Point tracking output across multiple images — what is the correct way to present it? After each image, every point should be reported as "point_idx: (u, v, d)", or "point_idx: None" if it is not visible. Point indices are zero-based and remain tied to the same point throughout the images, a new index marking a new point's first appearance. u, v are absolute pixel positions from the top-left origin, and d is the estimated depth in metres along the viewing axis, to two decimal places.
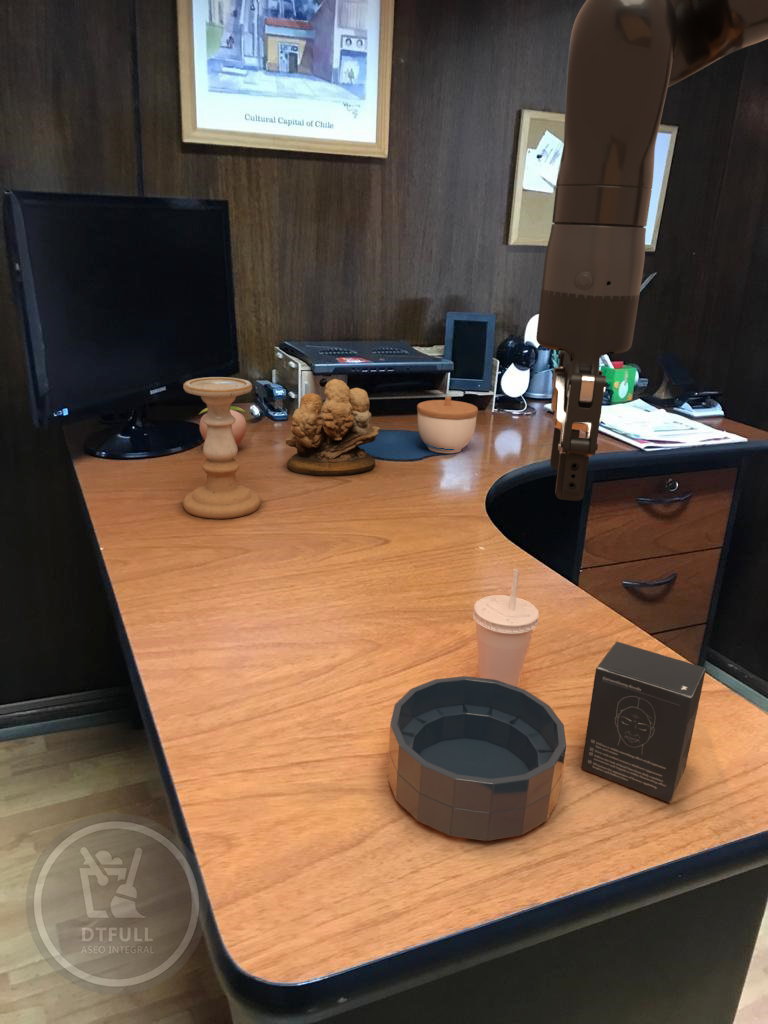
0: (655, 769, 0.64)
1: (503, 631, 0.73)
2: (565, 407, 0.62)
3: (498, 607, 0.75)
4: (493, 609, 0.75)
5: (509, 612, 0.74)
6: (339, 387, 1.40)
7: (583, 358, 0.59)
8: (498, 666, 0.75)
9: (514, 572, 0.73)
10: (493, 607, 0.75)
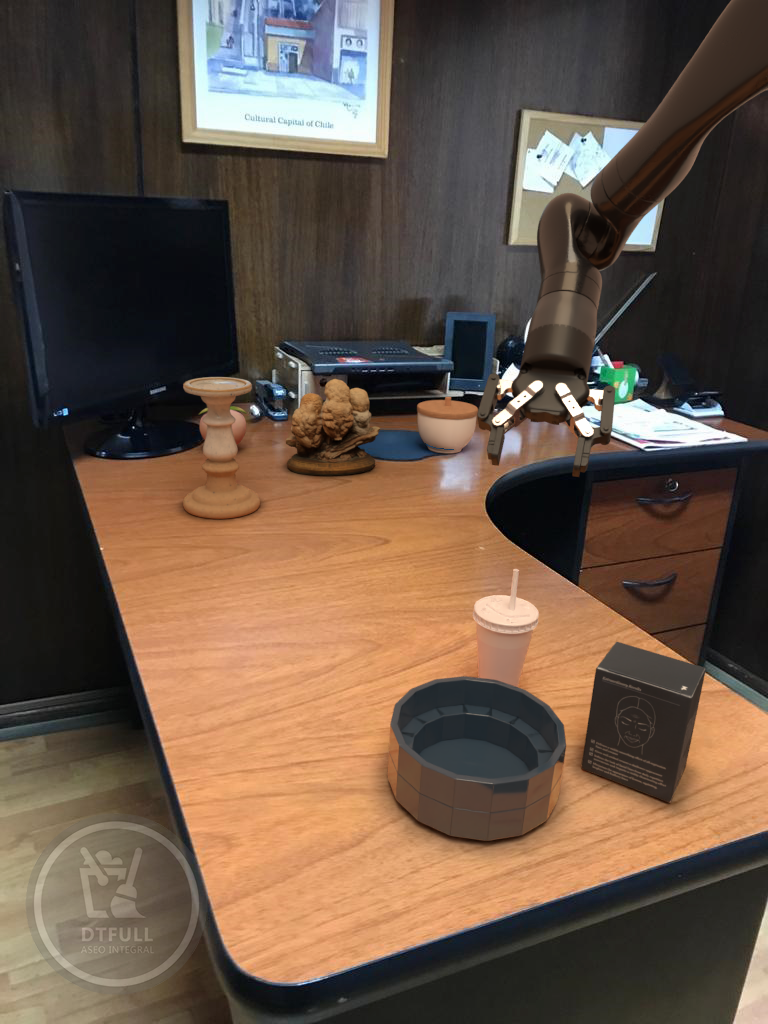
0: (655, 769, 0.64)
1: (503, 631, 0.73)
2: None
3: (498, 607, 0.75)
4: (493, 609, 0.75)
5: (509, 612, 0.74)
6: (339, 387, 1.40)
7: None
8: (498, 666, 0.75)
9: (514, 572, 0.73)
10: (493, 607, 0.75)
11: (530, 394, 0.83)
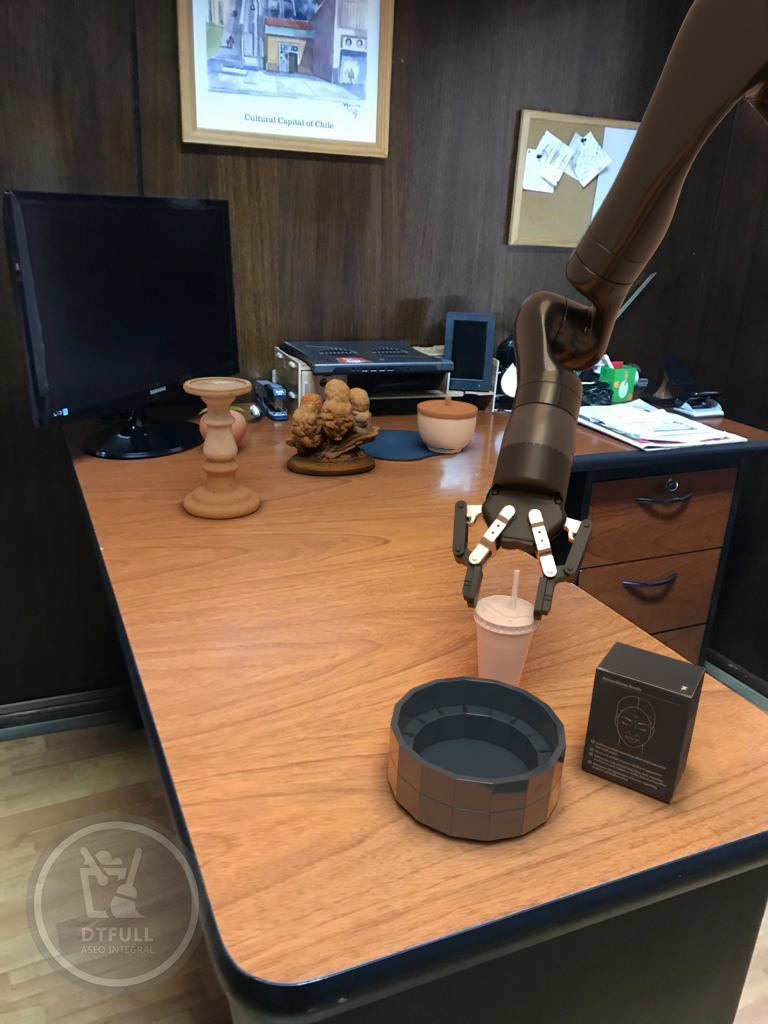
0: (655, 769, 0.64)
1: (503, 632, 0.73)
2: None
3: (499, 607, 0.75)
4: (494, 610, 0.75)
5: (510, 613, 0.74)
6: (339, 387, 1.40)
7: None
8: (498, 666, 0.75)
9: (515, 573, 0.73)
10: (494, 607, 0.75)
11: (503, 522, 0.75)
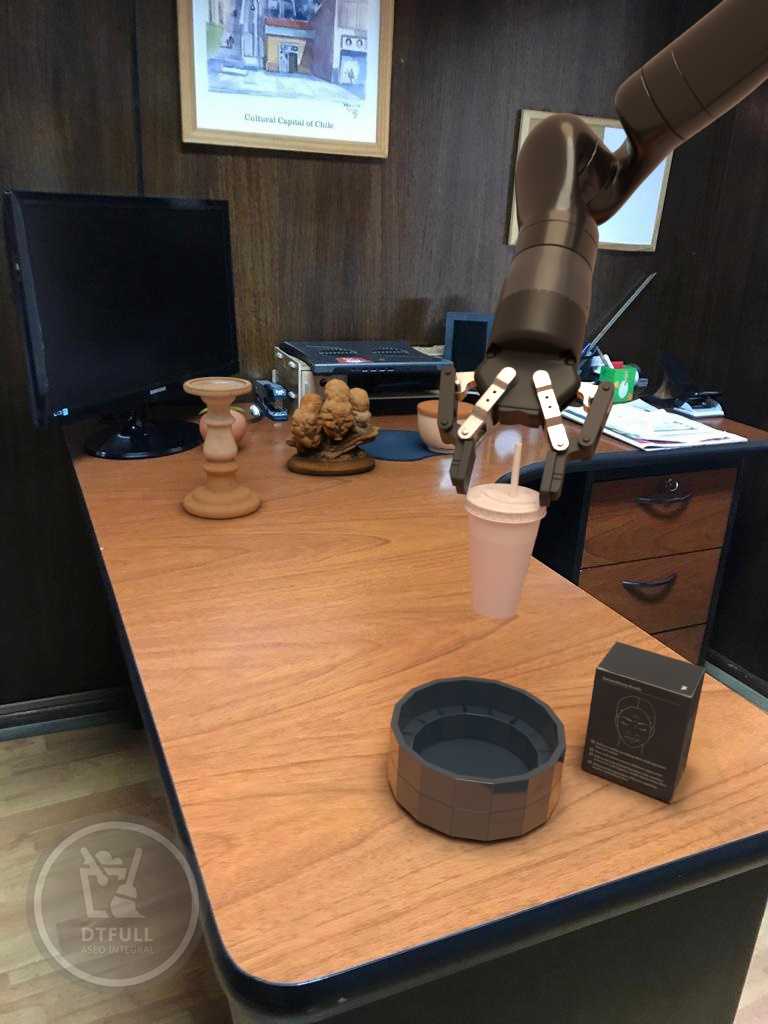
0: (655, 769, 0.64)
1: (501, 521, 0.57)
2: None
3: (496, 494, 0.60)
4: (490, 497, 0.59)
5: (509, 499, 0.59)
6: (339, 387, 1.40)
7: None
8: (495, 567, 0.59)
9: (516, 446, 0.58)
10: (489, 494, 0.60)
11: (501, 387, 0.60)
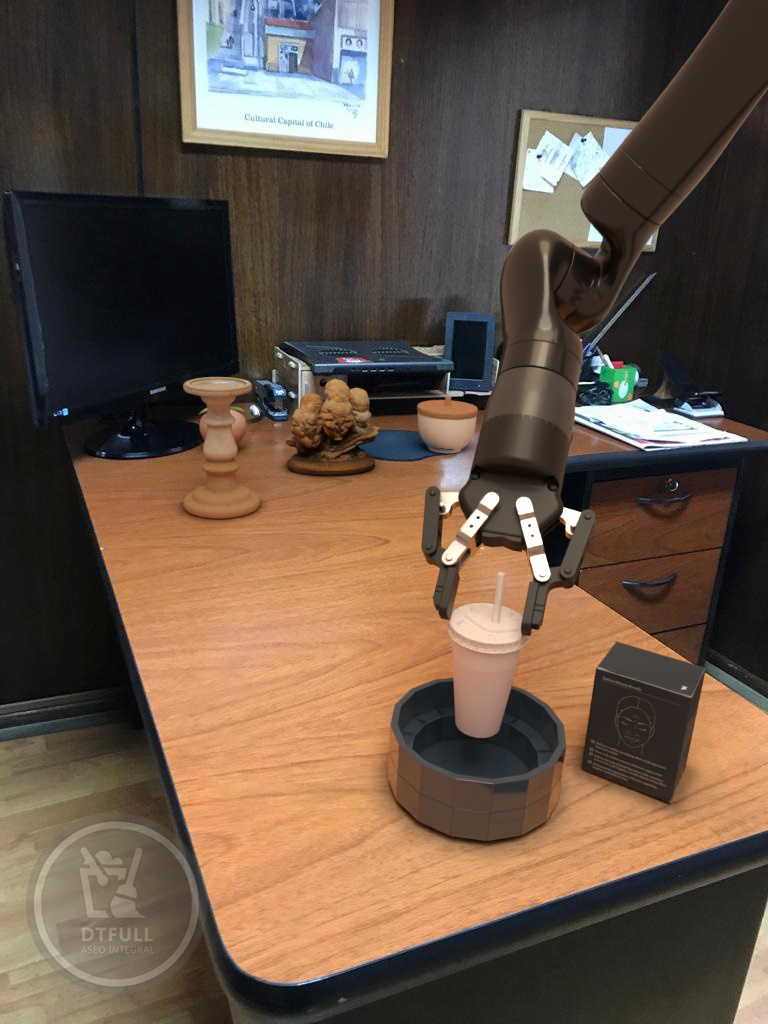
0: (655, 769, 0.64)
1: (484, 651, 0.58)
2: None
3: (479, 619, 0.60)
4: (473, 622, 0.60)
5: (492, 626, 0.59)
6: (339, 387, 1.40)
7: None
8: (478, 692, 0.60)
9: (498, 576, 0.58)
10: (472, 619, 0.60)
11: (485, 513, 0.61)
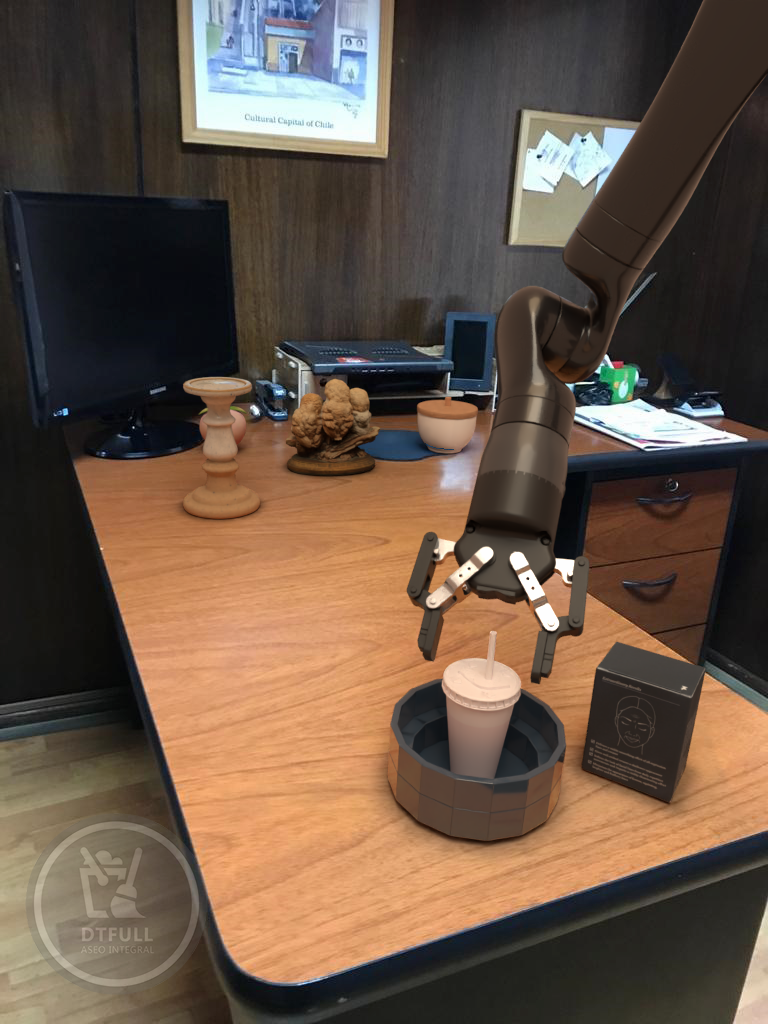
0: (655, 769, 0.64)
1: (477, 708, 0.60)
2: None
3: (472, 675, 0.62)
4: (467, 678, 0.62)
5: (485, 682, 0.62)
6: (339, 387, 1.40)
7: None
8: (472, 746, 0.62)
9: (491, 635, 0.61)
10: (466, 675, 0.62)
11: (476, 566, 0.62)
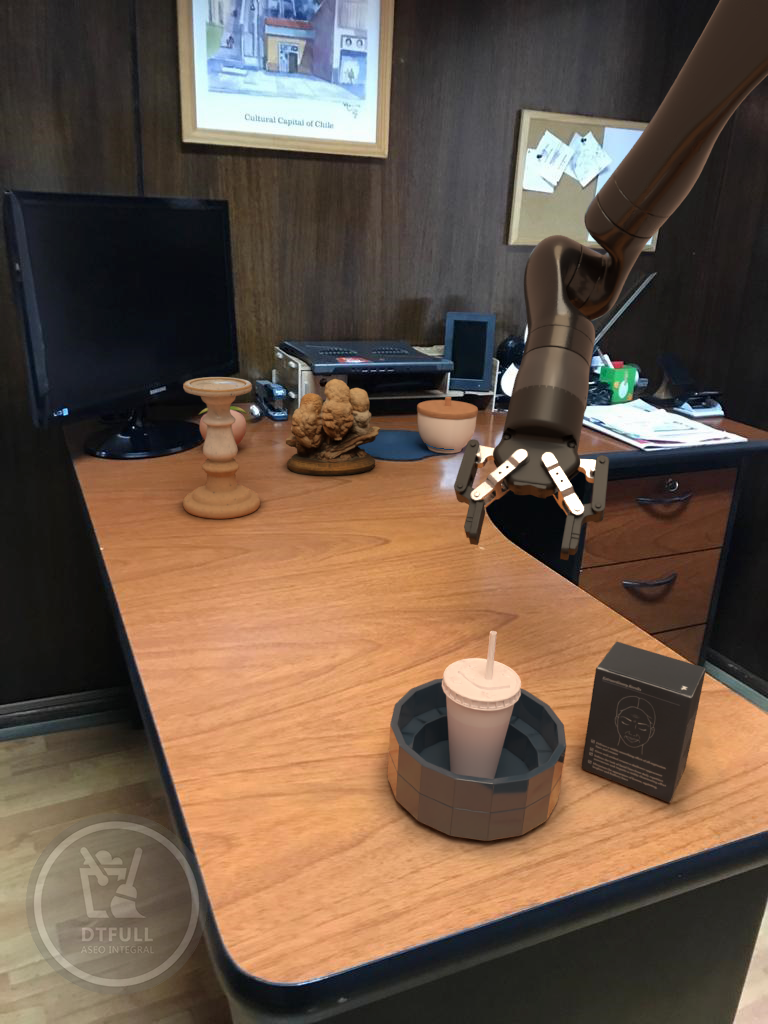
0: (655, 769, 0.64)
1: (477, 708, 0.60)
2: None
3: (472, 675, 0.62)
4: (467, 678, 0.62)
5: (485, 682, 0.62)
6: (339, 387, 1.40)
7: None
8: (472, 746, 0.62)
9: (491, 635, 0.61)
10: (466, 675, 0.62)
11: (513, 464, 0.74)
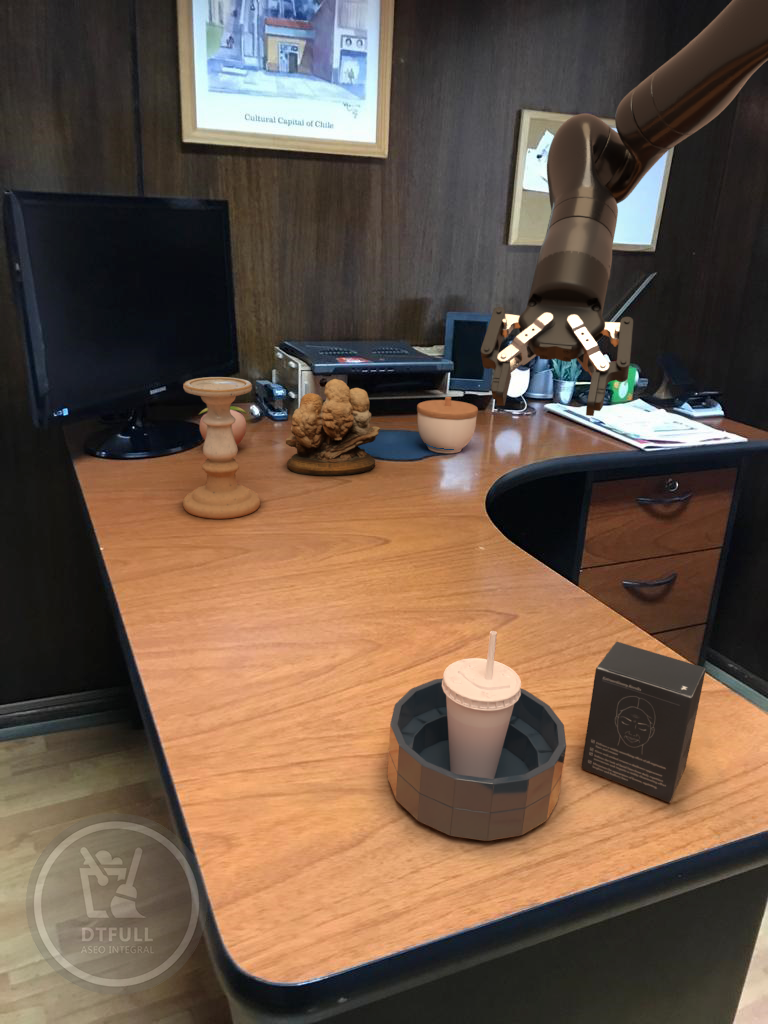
0: (655, 769, 0.64)
1: (477, 708, 0.60)
2: None
3: (472, 675, 0.62)
4: (467, 678, 0.62)
5: (485, 682, 0.62)
6: (339, 387, 1.40)
7: None
8: (472, 746, 0.62)
9: (491, 635, 0.61)
10: (466, 675, 0.62)
11: (539, 327, 0.76)
